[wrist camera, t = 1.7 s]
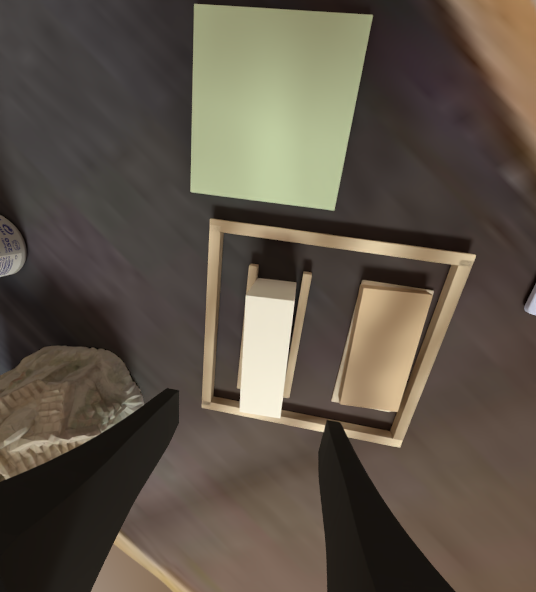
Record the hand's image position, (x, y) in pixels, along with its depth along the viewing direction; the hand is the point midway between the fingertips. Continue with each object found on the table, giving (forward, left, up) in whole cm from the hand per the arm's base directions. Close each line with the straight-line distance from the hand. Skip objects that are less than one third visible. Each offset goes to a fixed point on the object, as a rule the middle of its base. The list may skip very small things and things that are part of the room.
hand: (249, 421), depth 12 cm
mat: (+2, -15, -9) cm, 18 cm away
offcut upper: (-9, 0, -9) cm, 13 cm away
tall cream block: (0, 0, -10) cm, 10 cm away
